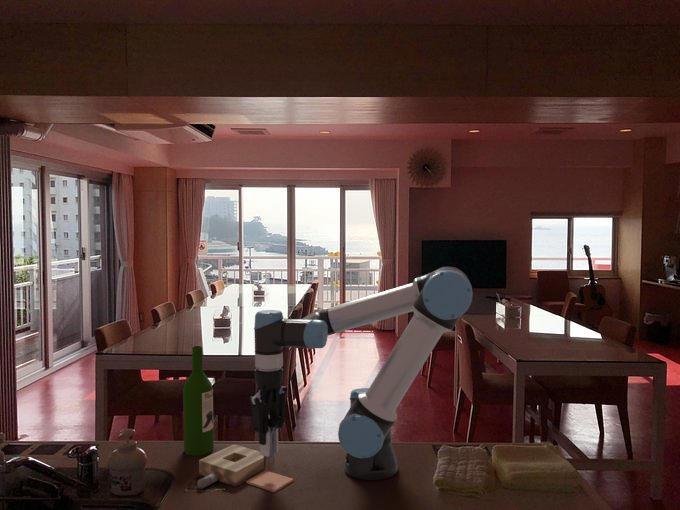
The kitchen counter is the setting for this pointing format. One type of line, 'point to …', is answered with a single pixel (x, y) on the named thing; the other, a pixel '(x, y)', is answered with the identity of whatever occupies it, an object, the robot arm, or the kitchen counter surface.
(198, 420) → the wine bottle
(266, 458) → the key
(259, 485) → the mat
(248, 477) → the jig
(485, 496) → the kitchen counter surface
